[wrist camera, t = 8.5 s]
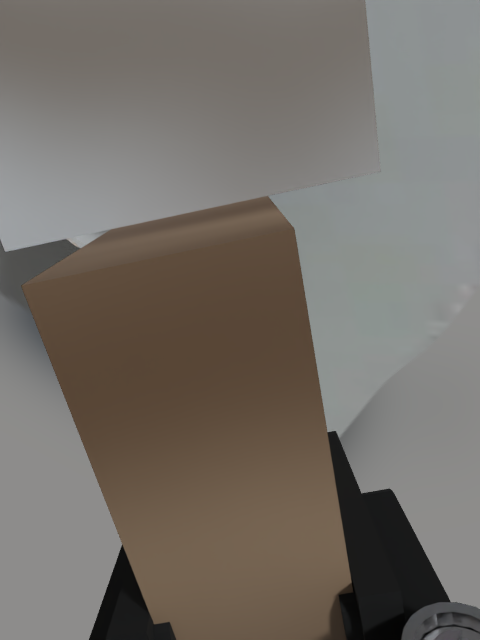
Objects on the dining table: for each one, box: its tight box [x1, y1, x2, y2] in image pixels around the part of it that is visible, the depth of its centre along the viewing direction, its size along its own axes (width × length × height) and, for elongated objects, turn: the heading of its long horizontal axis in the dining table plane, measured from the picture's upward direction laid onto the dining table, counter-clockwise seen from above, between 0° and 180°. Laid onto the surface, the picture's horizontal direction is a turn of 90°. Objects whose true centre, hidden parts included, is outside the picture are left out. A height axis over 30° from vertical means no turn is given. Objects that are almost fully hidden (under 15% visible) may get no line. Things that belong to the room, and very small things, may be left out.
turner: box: [0, 0, 381, 640], centre depth 7 cm, size 21×6×4 cm, turn 12°
